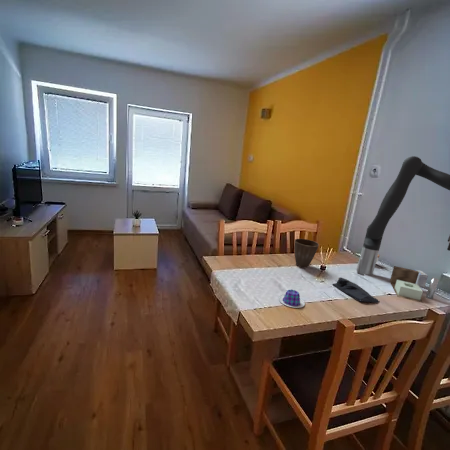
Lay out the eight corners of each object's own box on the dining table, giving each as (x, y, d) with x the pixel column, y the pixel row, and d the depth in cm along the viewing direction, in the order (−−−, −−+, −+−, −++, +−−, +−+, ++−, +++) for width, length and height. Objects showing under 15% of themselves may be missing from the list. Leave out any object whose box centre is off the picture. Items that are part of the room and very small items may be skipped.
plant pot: (316, 265, 176) (321, 242, 173) (310, 272, 164) (315, 247, 160) (294, 259, 184) (298, 237, 180) (287, 265, 171) (291, 241, 168)
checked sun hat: (299, 296, 132) (301, 287, 130) (308, 310, 120) (310, 299, 119) (275, 294, 131) (277, 285, 130) (281, 308, 119) (283, 297, 118)
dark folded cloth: (356, 304, 130) (359, 296, 129) (329, 284, 151) (331, 276, 150) (382, 304, 134) (384, 295, 133) (352, 284, 155) (354, 276, 154)
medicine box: (424, 289, 159) (428, 275, 157) (416, 287, 159) (420, 274, 157) (417, 283, 166) (421, 270, 164) (409, 282, 167) (413, 269, 165)
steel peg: (426, 299, 144) (432, 279, 141) (424, 297, 147) (431, 277, 144) (432, 301, 143) (439, 280, 140) (431, 299, 146) (437, 278, 143)
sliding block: (398, 294, 144) (400, 286, 143) (394, 287, 153) (396, 279, 152) (420, 300, 140) (422, 291, 139) (415, 292, 149) (417, 284, 148)
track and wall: (396, 298, 142) (402, 279, 139) (389, 282, 162) (393, 265, 159) (423, 304, 138) (429, 285, 135) (412, 288, 158) (417, 270, 155)
